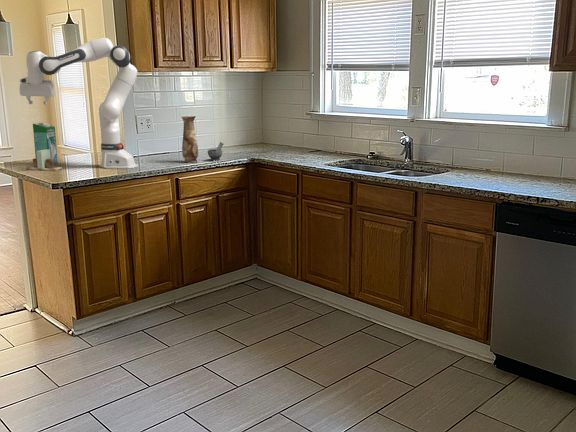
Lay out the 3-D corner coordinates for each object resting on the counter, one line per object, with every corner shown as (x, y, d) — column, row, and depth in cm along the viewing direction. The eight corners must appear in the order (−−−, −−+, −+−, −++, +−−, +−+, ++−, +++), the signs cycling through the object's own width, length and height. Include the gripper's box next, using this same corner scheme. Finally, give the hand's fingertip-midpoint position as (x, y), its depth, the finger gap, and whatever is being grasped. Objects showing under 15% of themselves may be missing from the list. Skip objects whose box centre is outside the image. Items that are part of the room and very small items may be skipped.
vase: (200, 162, 369) (199, 115, 362) (184, 163, 364) (183, 116, 357) (195, 160, 378) (194, 114, 371) (179, 161, 373) (178, 115, 366)
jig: (62, 168, 337) (61, 158, 335) (55, 170, 330) (54, 160, 329) (33, 167, 339) (32, 157, 338) (26, 169, 332) (25, 159, 331)
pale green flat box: (46, 166, 339) (45, 149, 337) (51, 166, 338) (49, 149, 336) (37, 168, 330) (36, 151, 328) (42, 168, 330) (41, 151, 327)
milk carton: (49, 165, 350) (45, 123, 344) (36, 164, 351) (32, 123, 345) (57, 163, 358) (54, 122, 352) (45, 162, 360) (41, 122, 354)
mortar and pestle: (211, 161, 374) (211, 143, 371) (205, 160, 382) (205, 142, 379) (226, 160, 380) (226, 142, 377) (220, 158, 388) (220, 141, 385)
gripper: (55, 80, 332) (57, 104, 335) (23, 79, 335) (25, 103, 338) (50, 80, 326) (51, 104, 329) (16, 79, 329) (19, 104, 332)
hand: (38, 104), depth 334 cm, fingers open, 8 cm apart
